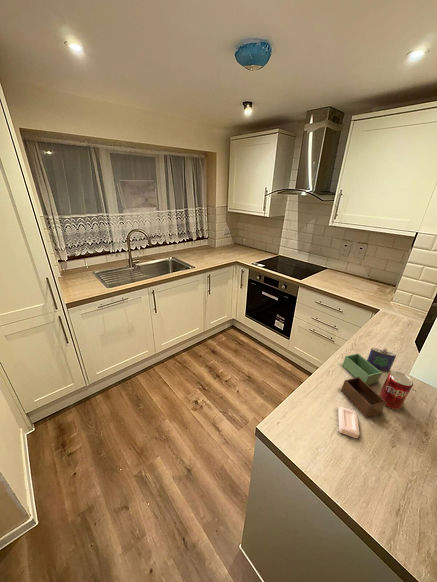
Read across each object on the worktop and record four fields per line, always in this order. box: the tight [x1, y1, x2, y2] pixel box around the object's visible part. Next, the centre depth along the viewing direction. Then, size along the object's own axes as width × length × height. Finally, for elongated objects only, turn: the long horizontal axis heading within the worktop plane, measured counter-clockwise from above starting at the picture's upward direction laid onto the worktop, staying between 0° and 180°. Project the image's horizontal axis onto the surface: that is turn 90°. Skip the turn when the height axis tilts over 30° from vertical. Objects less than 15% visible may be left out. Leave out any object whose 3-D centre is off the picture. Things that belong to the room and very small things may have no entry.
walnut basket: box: [340, 377, 387, 419], centre depth 86 cm, size 12×7×6 cm, turn 17°
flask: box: [366, 347, 397, 373], centre depth 102 cm, size 9×3×11 cm, turn 66°
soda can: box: [378, 370, 414, 410], centre depth 85 cm, size 7×7×12 cm
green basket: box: [341, 353, 383, 386], centre depth 99 cm, size 12×7×6 cm, turn 17°
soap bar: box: [337, 406, 360, 439], centre depth 79 cm, size 5×9×2 cm, turn 158°
